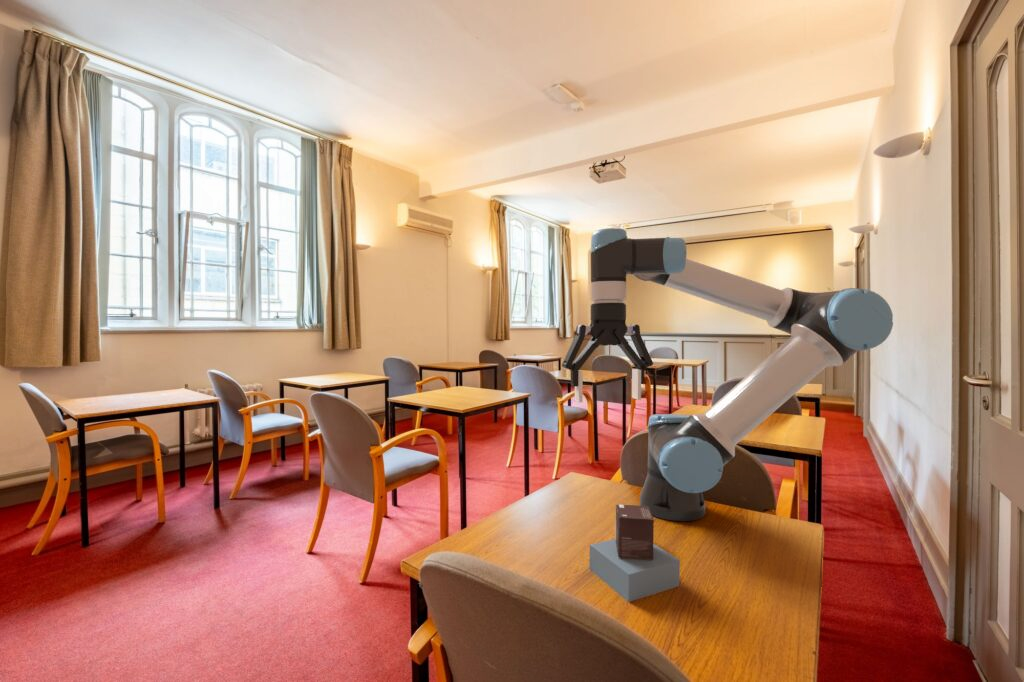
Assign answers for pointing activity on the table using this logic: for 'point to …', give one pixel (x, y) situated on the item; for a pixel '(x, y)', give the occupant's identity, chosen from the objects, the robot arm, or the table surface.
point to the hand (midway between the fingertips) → (607, 400)
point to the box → (634, 532)
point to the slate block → (634, 571)
